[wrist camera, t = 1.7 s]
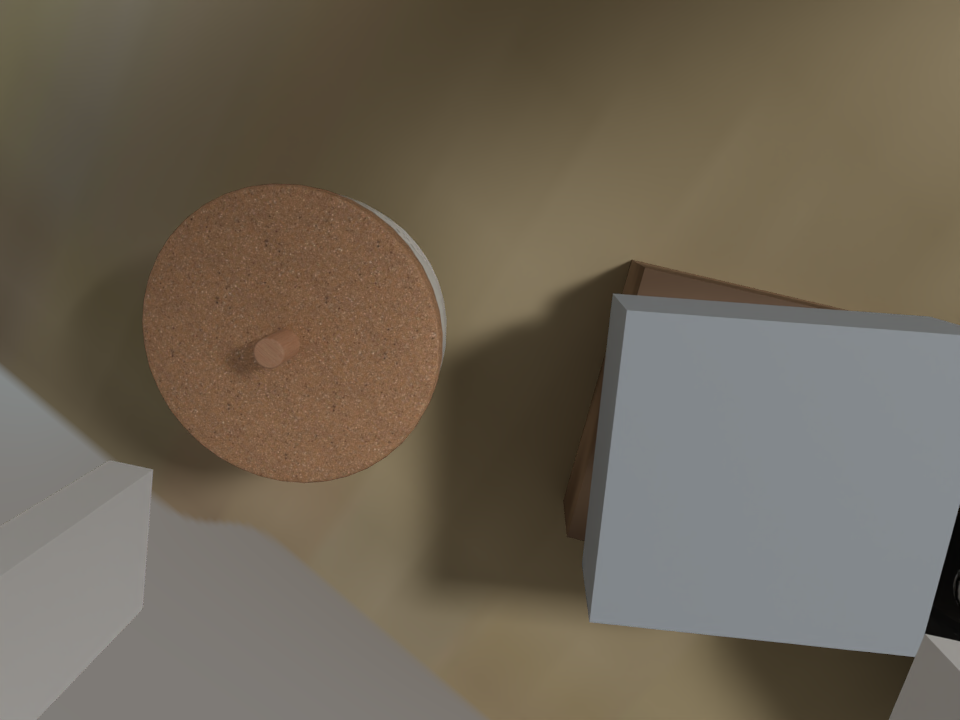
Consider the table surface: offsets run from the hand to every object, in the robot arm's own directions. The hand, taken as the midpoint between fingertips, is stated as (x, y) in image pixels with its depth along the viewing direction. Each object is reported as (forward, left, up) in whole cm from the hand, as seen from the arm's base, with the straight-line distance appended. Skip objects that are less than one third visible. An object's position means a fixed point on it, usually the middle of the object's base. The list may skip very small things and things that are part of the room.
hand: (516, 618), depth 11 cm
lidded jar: (0, -9, -20) cm, 21 cm away
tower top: (+1, +9, -16) cm, 18 cm away
